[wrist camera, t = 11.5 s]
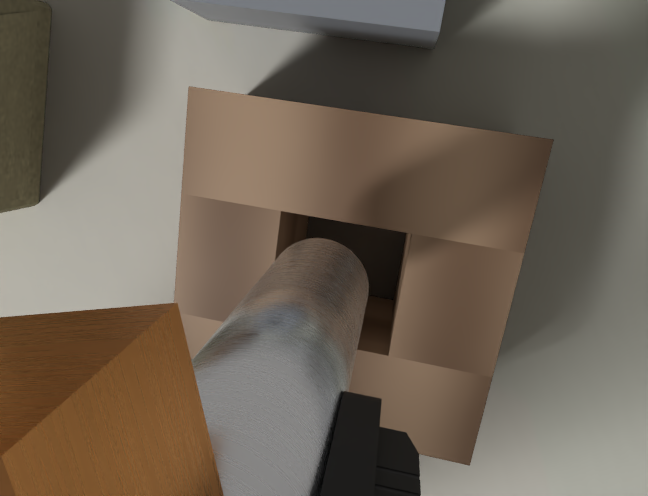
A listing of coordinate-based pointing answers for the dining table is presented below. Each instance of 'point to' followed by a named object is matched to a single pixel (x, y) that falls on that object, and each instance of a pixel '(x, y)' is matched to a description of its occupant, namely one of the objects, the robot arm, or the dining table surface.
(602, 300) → the dining table surface
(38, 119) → the tissue box
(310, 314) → the bar
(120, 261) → the dining table surface
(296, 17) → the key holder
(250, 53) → the dining table surface
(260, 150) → the block
